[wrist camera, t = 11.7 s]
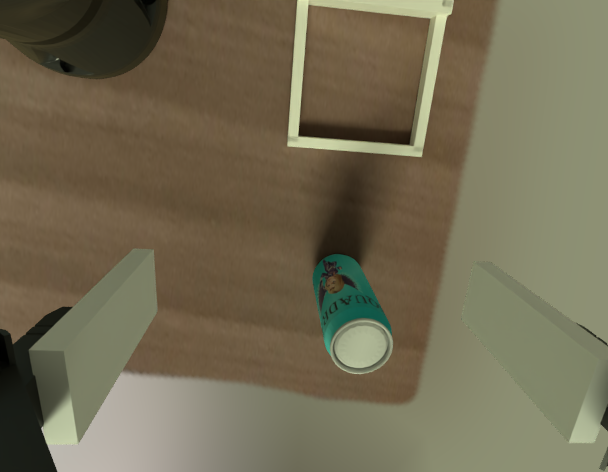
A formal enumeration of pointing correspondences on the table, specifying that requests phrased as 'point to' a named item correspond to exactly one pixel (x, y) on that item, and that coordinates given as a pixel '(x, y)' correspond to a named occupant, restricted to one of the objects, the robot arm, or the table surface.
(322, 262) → the beverage can
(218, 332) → the table surface
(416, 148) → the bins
